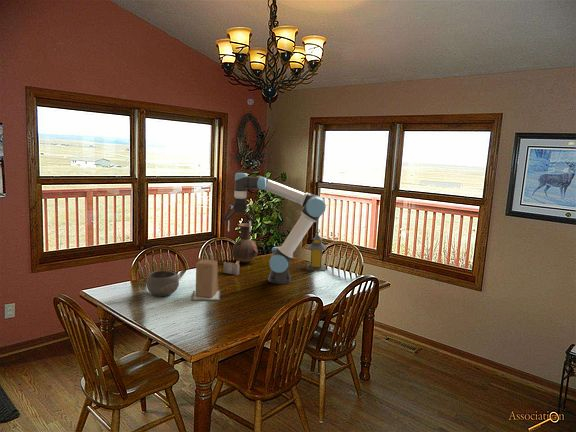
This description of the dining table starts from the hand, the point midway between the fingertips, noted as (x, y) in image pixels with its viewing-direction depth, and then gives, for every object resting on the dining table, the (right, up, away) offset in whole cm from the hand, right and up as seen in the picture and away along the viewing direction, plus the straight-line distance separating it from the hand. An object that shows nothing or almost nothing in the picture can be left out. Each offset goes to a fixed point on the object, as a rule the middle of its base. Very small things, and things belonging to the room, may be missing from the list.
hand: (239, 231), depth 265 cm
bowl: (-42, -36, -20) cm, 59 cm away
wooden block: (-17, -37, -20) cm, 45 cm away
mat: (-17, -37, -20) cm, 45 cm away
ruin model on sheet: (-9, -31, +30) cm, 44 cm away
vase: (-3, -27, +61) cm, 66 cm away
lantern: (+52, -30, +53) cm, 80 cm away
